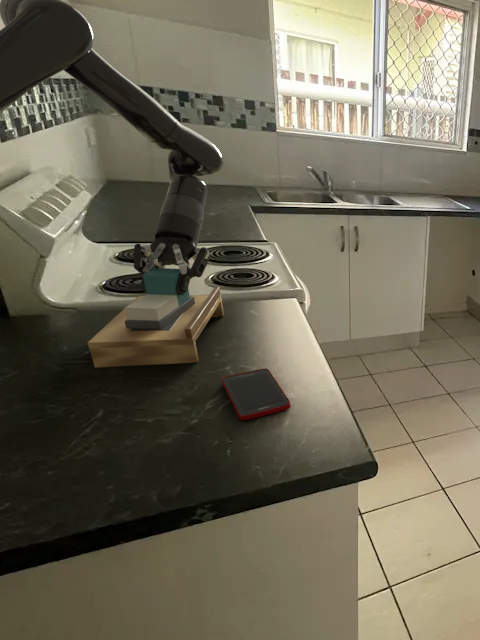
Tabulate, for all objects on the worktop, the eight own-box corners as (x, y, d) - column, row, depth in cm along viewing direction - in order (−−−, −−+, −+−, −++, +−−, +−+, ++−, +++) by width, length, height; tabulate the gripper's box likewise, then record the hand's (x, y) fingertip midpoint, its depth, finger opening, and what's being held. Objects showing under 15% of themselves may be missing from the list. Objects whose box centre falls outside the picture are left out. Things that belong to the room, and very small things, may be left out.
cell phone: (268, 371, 89) (267, 367, 88) (292, 408, 79) (292, 403, 78) (221, 382, 84) (220, 377, 84) (241, 422, 74) (240, 417, 74)
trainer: (161, 329, 90) (152, 289, 87) (126, 328, 89) (115, 288, 86) (195, 303, 102) (188, 267, 99) (164, 302, 102) (157, 266, 98)
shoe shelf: (94, 367, 85) (84, 332, 82) (143, 317, 106) (135, 287, 103) (197, 362, 90) (190, 328, 87) (224, 315, 110) (219, 286, 108)
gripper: (133, 208, 97) (112, 282, 91) (209, 213, 99) (193, 286, 93) (153, 229, 104) (134, 299, 98) (223, 233, 106) (209, 302, 100)
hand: (163, 292), depth 95 cm, fingers closed on trainer, 5 cm apart
